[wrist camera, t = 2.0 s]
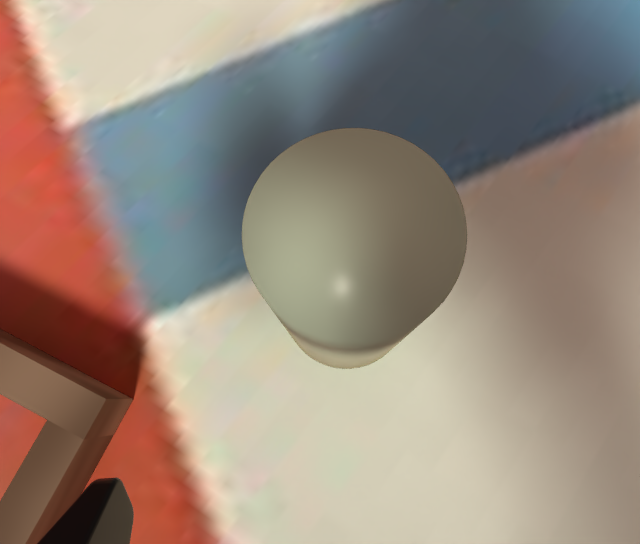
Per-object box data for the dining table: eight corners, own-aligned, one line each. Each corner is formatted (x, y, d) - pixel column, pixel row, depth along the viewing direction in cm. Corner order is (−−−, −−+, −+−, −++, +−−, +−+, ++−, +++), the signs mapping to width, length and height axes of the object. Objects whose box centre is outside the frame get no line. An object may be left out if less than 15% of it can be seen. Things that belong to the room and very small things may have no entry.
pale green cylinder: (426, 278, 22) (500, 179, 12) (376, 390, 21) (411, 383, 11) (317, 228, 22) (302, 96, 12) (263, 335, 21) (201, 281, 11)
